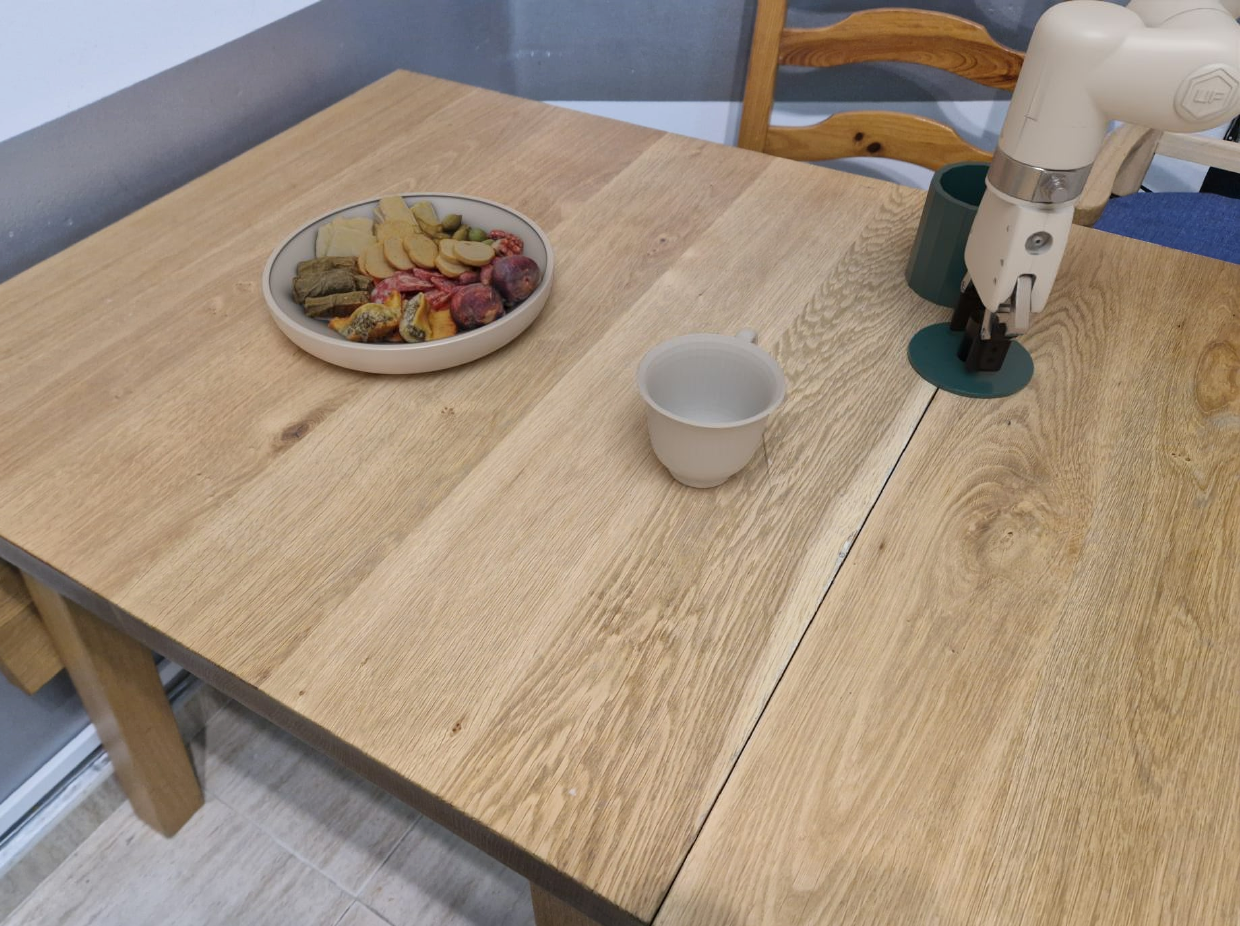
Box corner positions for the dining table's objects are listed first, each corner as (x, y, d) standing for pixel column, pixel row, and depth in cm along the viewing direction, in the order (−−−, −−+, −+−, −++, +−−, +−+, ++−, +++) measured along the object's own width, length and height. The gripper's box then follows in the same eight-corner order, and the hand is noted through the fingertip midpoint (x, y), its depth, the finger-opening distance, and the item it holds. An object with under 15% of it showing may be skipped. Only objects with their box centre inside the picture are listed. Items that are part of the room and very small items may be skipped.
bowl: (216, 358, 94) (193, 291, 89) (356, 214, 114) (344, 152, 108) (493, 417, 87) (486, 348, 82) (591, 253, 107) (591, 188, 101)
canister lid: (1011, 331, 95) (1030, 284, 91) (1045, 405, 87) (1067, 356, 83) (895, 329, 96) (909, 281, 92) (919, 402, 88) (935, 353, 84)
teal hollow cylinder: (992, 260, 105) (1027, 161, 96) (1018, 315, 97) (1058, 213, 89) (896, 258, 105) (922, 160, 97) (915, 313, 98) (945, 212, 90)
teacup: (801, 430, 86) (821, 340, 78) (736, 535, 77) (751, 444, 70) (682, 388, 90) (690, 300, 83) (607, 483, 81) (609, 393, 74)
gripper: (1122, 224, 71) (1039, 408, 84) (1053, 125, 83) (990, 299, 96) (1020, 223, 72) (954, 406, 85) (966, 124, 83) (915, 298, 96)
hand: (973, 347), depth 90 cm, fingers open, 5 cm apart
